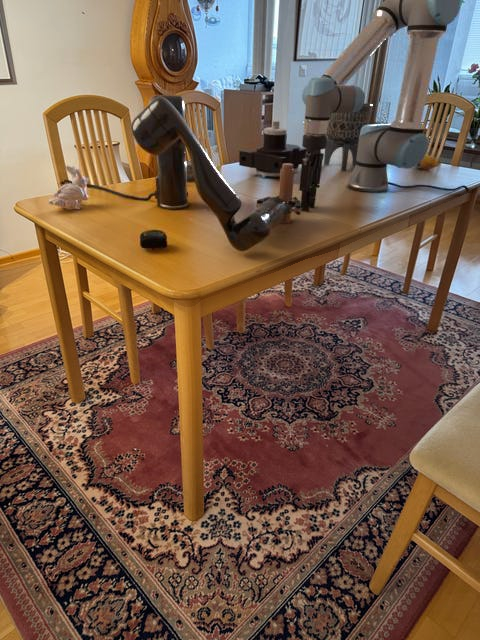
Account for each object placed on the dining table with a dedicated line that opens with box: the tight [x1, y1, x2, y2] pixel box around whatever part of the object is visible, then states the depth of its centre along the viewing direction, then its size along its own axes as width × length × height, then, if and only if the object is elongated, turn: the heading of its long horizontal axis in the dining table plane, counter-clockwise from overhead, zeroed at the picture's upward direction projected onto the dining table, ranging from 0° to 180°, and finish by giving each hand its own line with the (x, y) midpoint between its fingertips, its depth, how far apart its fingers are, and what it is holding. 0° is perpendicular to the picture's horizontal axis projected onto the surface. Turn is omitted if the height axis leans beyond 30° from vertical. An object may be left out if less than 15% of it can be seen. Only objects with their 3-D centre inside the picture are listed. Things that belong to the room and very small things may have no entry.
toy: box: [415, 154, 440, 170], centre depth 211 cm, size 11×6×15 cm
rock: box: [186, 160, 195, 182], centre depth 182 cm, size 13×9×6 cm, turn 131°
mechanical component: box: [238, 120, 307, 178], centre depth 191 cm, size 22×21×30 cm
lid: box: [300, 194, 317, 203], centre depth 149 cm, size 5×5×2 cm
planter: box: [323, 102, 374, 172], centre depth 204 cm, size 20×20×26 cm
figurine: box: [47, 165, 90, 210], centre depth 144 cm, size 8×15×13 cm, turn 145°
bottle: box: [278, 163, 295, 224], centre depth 135 cm, size 4×4×17 cm
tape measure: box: [139, 229, 168, 250], centre depth 117 cm, size 7×7×4 cm
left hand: (287, 199), depth 139 cm, fingers closed on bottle, 4 cm apart
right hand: (307, 208), depth 151 cm, fingers closed on lid, 5 cm apart
